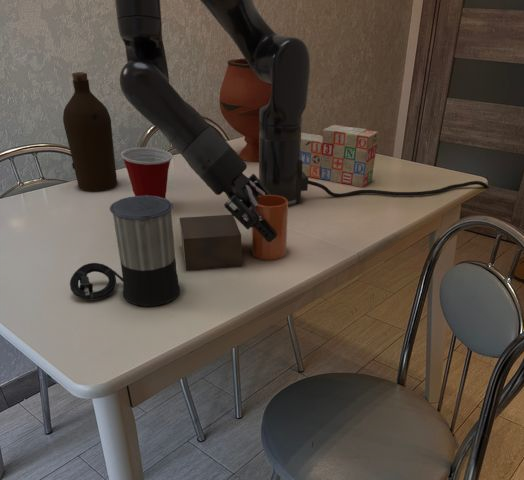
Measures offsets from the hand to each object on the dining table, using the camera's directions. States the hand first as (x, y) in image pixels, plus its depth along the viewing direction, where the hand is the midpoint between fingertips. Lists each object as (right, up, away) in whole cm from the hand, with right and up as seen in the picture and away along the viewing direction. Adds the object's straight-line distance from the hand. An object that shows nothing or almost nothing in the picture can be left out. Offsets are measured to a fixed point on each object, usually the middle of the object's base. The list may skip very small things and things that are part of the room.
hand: (277, 231), depth 98 cm
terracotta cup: (-2, -3, +3) cm, 5 cm away
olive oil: (-44, +19, +34) cm, 59 cm away
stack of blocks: (+15, +23, +42) cm, 50 cm away
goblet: (-5, +34, +57) cm, 66 cm away
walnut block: (-12, -5, +1) cm, 13 cm away
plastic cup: (-28, +10, +22) cm, 37 cm away
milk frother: (-25, -13, -11) cm, 30 cm away
